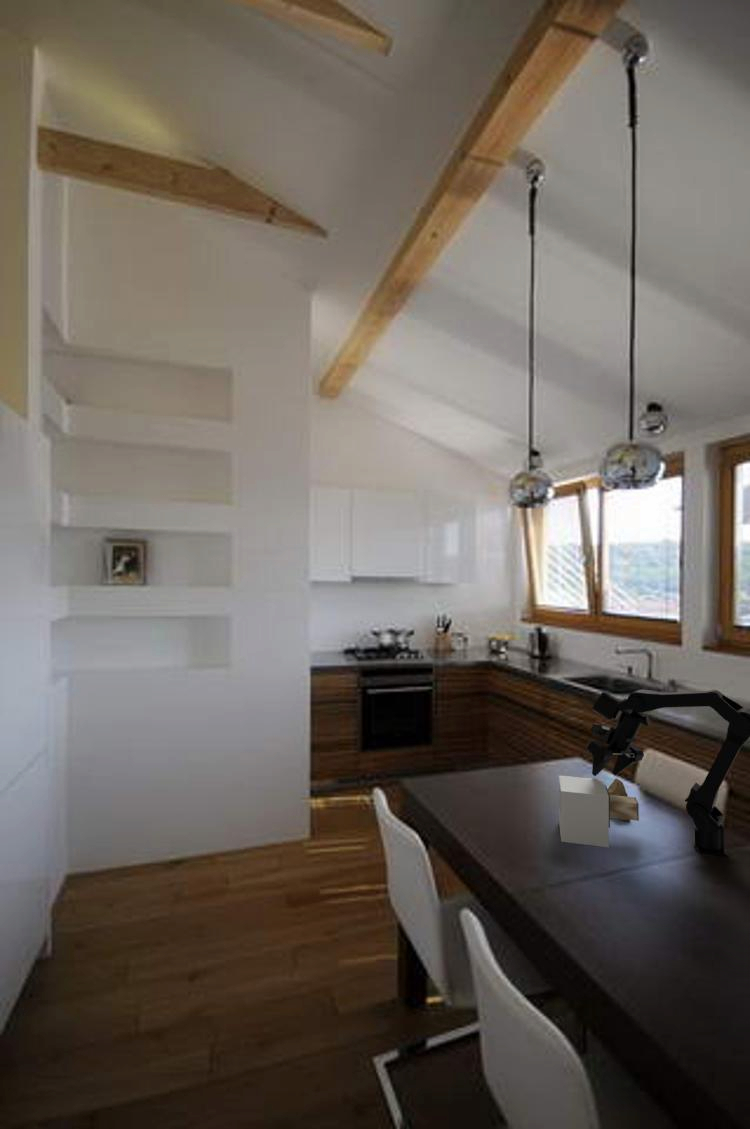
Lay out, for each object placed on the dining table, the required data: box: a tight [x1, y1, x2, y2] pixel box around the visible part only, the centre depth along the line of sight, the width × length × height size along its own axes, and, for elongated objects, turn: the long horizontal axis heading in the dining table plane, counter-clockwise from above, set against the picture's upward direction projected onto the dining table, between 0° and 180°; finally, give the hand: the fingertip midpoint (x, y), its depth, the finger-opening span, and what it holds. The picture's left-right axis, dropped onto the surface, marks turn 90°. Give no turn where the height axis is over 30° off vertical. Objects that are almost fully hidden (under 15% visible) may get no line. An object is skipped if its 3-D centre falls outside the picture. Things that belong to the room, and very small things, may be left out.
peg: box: [610, 795, 640, 822], centre depth 157 cm, size 12×5×5 cm, turn 75°
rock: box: [607, 778, 631, 822], centre depth 172 cm, size 11×9×10 cm
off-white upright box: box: [558, 775, 611, 848], centre depth 159 cm, size 13×13×14 cm
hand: (603, 774), depth 168 cm, fingers open, 9 cm apart
